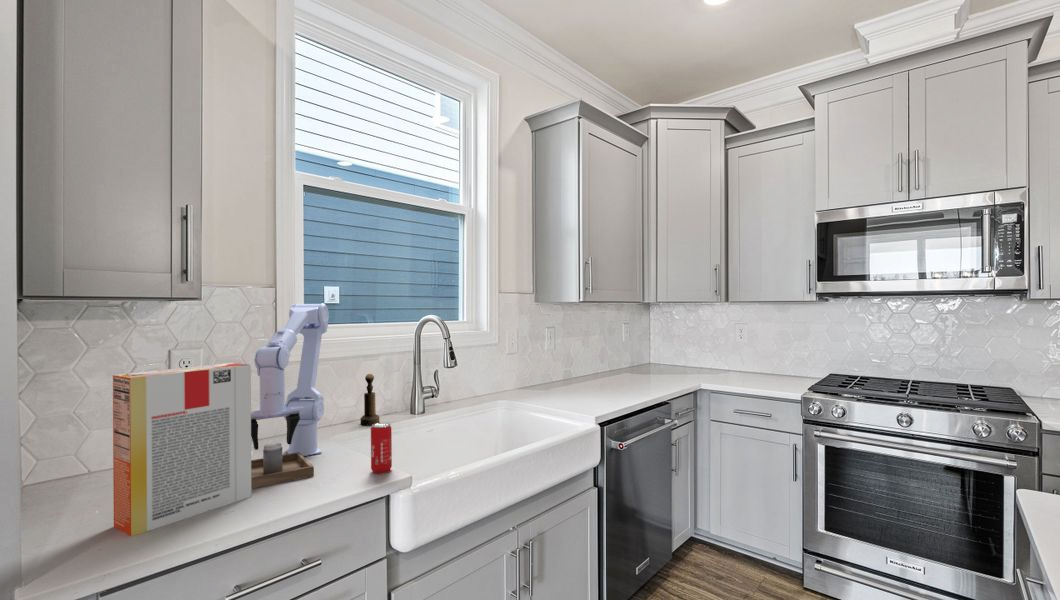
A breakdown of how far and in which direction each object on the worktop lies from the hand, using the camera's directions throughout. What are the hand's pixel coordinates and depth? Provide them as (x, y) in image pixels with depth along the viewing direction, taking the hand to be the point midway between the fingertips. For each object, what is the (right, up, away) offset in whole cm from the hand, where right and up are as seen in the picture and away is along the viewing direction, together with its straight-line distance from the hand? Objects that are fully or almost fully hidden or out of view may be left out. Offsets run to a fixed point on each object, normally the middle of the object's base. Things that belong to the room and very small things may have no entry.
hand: (272, 446), depth 131 cm
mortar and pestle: (+8, -8, +54) cm, 56 cm away
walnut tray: (0, -7, 0) cm, 7 cm away
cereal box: (-7, -7, -23) cm, 25 cm away
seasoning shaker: (0, -7, 0) cm, 7 cm away
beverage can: (+27, -7, +2) cm, 28 cm away
